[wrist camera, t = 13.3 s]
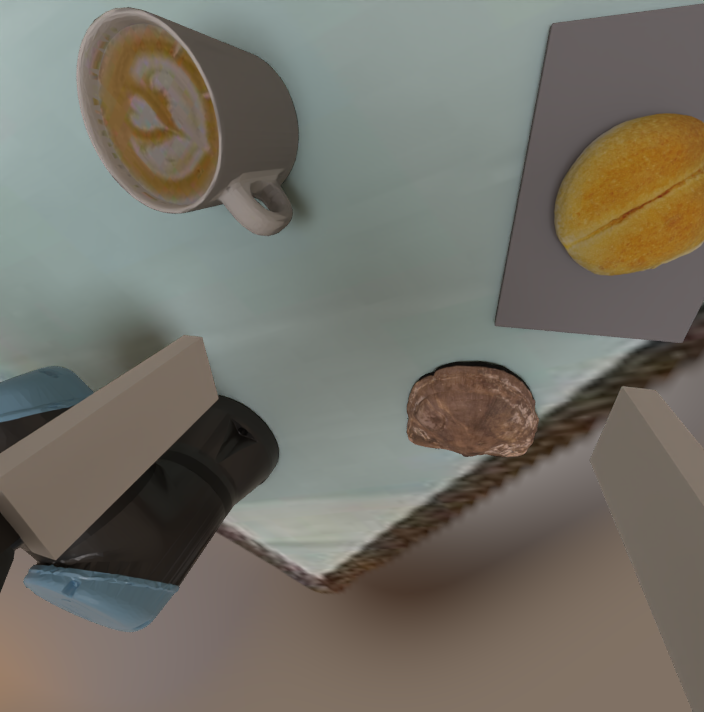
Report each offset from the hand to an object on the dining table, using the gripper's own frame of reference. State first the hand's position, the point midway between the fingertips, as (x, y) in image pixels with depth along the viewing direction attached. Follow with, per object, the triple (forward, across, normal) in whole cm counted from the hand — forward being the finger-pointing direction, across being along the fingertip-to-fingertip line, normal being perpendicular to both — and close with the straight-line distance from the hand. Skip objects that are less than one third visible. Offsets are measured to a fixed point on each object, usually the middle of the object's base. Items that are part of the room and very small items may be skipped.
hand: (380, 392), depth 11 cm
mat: (+20, -12, -4) cm, 24 cm away
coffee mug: (+21, +15, -7) cm, 27 cm away
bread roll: (+20, -12, -4) cm, 24 cm away
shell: (+21, -5, +16) cm, 27 cm away
